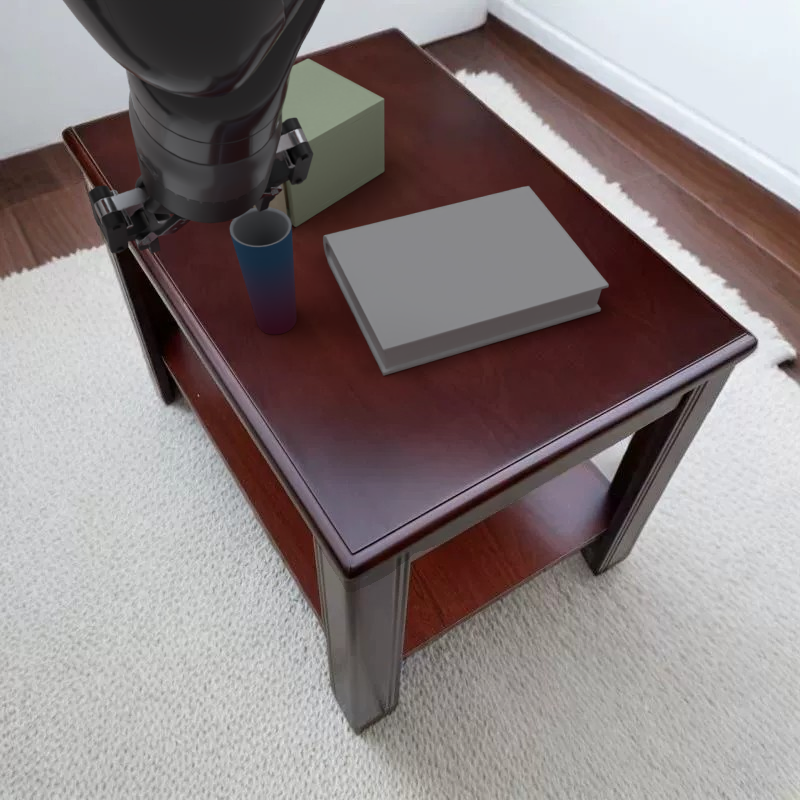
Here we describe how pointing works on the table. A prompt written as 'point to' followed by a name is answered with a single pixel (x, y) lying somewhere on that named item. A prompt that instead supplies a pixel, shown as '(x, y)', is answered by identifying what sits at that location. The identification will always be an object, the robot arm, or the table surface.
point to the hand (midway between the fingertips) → (204, 218)
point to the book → (461, 277)
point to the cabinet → (333, 137)
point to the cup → (267, 266)
